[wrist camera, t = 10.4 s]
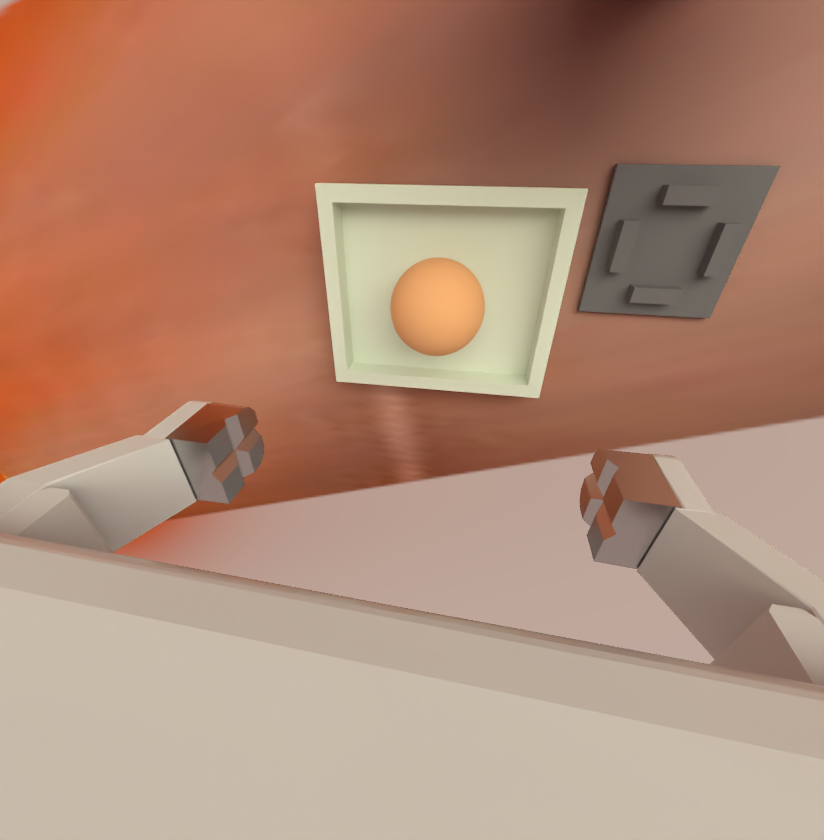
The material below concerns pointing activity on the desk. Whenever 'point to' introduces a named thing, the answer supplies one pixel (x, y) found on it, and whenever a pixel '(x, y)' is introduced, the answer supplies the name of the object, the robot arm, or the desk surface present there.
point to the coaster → (672, 237)
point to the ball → (437, 306)
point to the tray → (465, 243)
